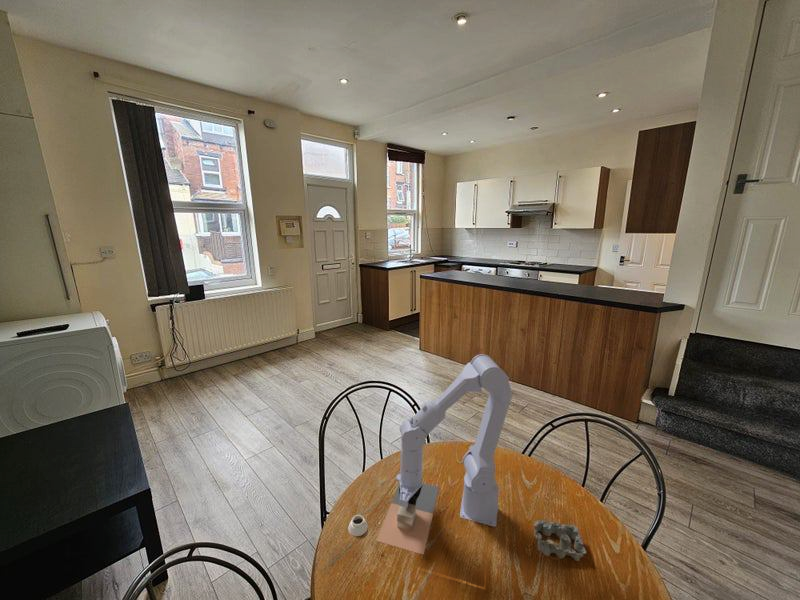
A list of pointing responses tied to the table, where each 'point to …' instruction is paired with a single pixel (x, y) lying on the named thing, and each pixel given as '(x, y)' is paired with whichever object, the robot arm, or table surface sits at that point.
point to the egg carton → (565, 540)
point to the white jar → (357, 526)
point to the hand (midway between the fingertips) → (410, 509)
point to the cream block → (406, 517)
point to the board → (421, 527)
